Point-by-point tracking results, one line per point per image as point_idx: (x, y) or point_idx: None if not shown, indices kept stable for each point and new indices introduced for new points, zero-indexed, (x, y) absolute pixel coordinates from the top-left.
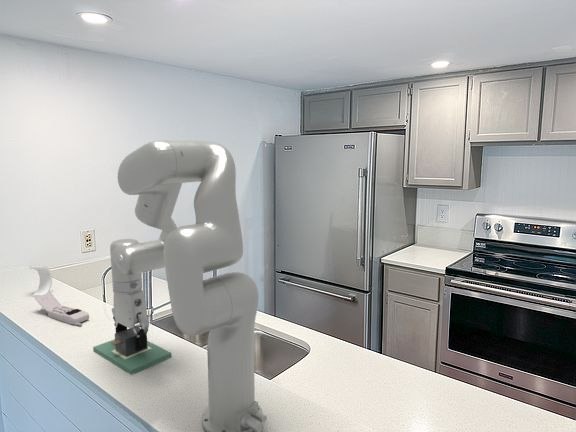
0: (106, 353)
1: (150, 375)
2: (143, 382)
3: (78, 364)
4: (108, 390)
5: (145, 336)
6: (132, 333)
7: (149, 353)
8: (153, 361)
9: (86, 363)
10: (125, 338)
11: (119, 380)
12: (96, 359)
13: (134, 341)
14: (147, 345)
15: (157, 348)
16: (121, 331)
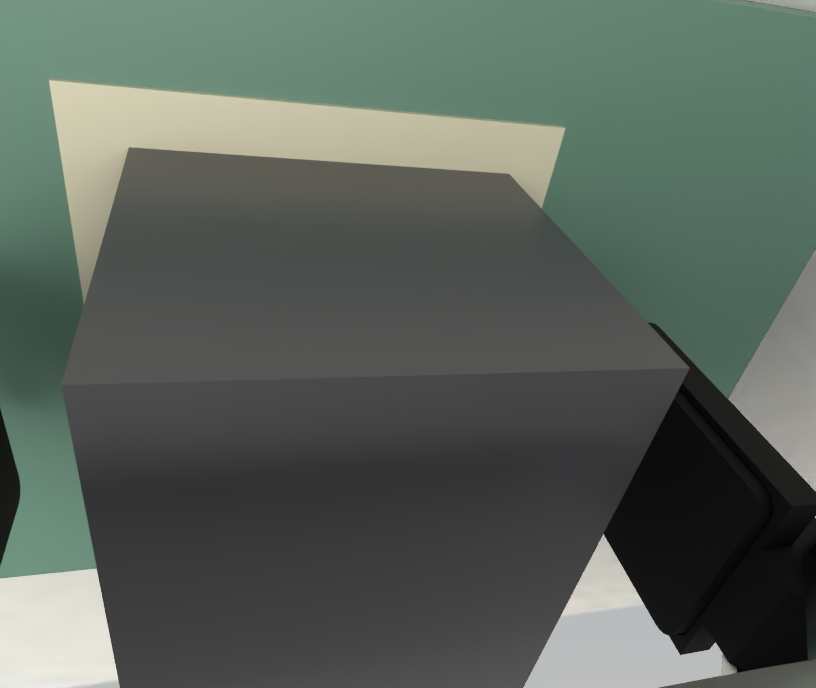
0: None
1: (798, 393)
2: (790, 462)
3: (71, 670)
4: (621, 607)
5: (778, 471)
6: (448, 582)
7: (631, 245)
8: (770, 310)
9: (108, 632)
10: (495, 682)
11: (606, 546)
12: (92, 570)
13: (639, 582)
14: (409, 90)
15: (654, 62)
16: (133, 684)
